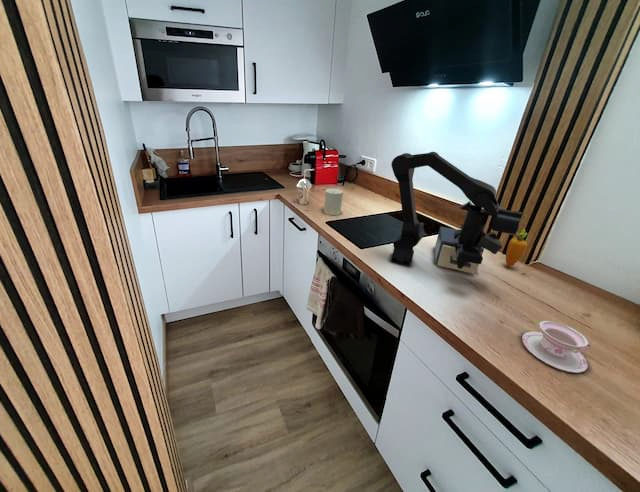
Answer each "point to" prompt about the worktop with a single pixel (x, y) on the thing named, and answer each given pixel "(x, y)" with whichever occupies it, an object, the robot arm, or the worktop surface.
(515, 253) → the carrot
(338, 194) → the can
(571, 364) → the teacup
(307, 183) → the cup with straw
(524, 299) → the worktop surface
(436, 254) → the cabinet
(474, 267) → the drawer
